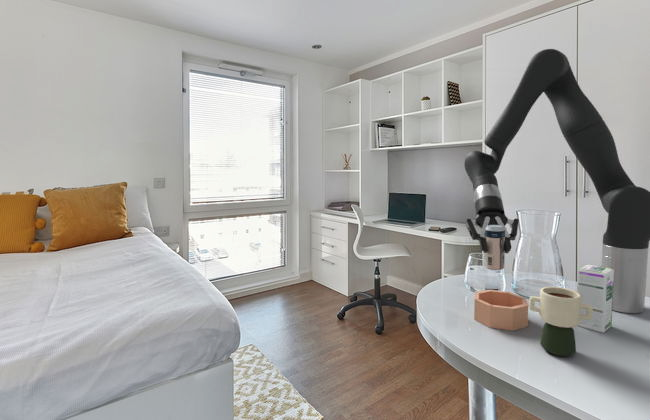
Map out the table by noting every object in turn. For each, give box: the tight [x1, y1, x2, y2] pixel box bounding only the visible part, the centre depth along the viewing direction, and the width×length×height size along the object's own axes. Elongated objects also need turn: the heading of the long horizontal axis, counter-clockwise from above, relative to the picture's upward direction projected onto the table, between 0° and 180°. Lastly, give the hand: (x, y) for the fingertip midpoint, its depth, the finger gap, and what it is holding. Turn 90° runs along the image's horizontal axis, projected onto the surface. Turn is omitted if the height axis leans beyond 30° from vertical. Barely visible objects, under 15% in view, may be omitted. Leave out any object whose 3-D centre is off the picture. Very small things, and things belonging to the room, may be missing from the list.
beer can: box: [484, 225, 506, 271], centre depth 93 cm, size 5×5×12 cm
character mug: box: [528, 286, 593, 357], centre depth 71 cm, size 11×7×13 cm, turn 57°
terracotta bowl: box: [473, 289, 529, 331], centre depth 88 cm, size 12×12×6 cm
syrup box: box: [576, 264, 614, 334], centre depth 82 cm, size 6×6×14 cm
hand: (496, 251), depth 91 cm, fingers closed on beer can, 4 cm apart
